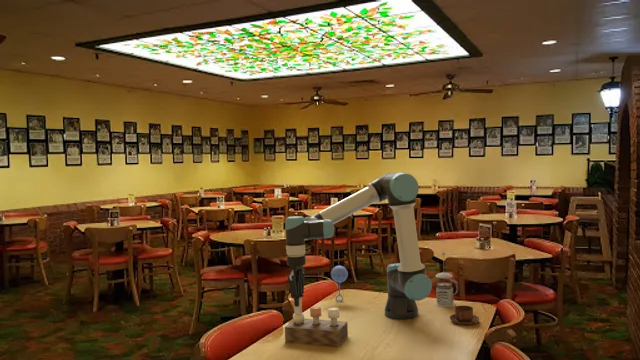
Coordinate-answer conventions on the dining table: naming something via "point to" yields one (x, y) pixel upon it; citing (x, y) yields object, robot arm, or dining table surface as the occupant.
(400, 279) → the robot arm
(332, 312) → the knob near
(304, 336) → the knob console
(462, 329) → the dining table surface
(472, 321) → the cup and saucer
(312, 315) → the knob middle
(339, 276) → the baby rattle
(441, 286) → the french press
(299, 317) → the knob far
